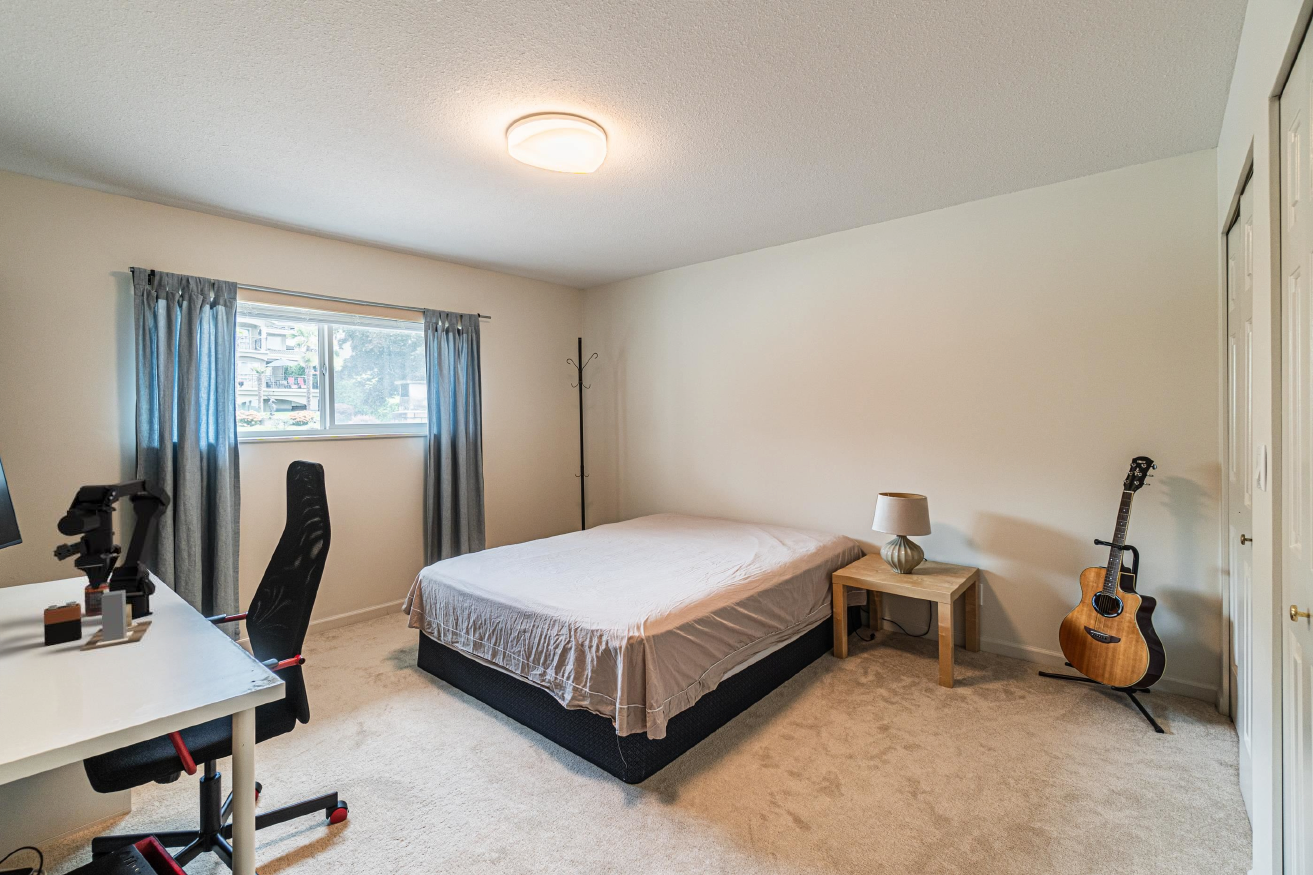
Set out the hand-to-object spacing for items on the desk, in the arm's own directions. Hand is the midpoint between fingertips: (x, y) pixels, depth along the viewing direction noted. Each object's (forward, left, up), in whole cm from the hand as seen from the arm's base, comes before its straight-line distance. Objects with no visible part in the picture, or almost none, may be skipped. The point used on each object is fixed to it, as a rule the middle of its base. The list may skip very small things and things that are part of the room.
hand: (99, 585), depth 156 cm
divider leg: (+3, +12, -12) cm, 17 cm away
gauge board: (0, +8, -13) cm, 15 cm away
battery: (+7, -2, -13) cm, 15 cm away
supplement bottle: (-11, -23, -13) cm, 29 cm away
